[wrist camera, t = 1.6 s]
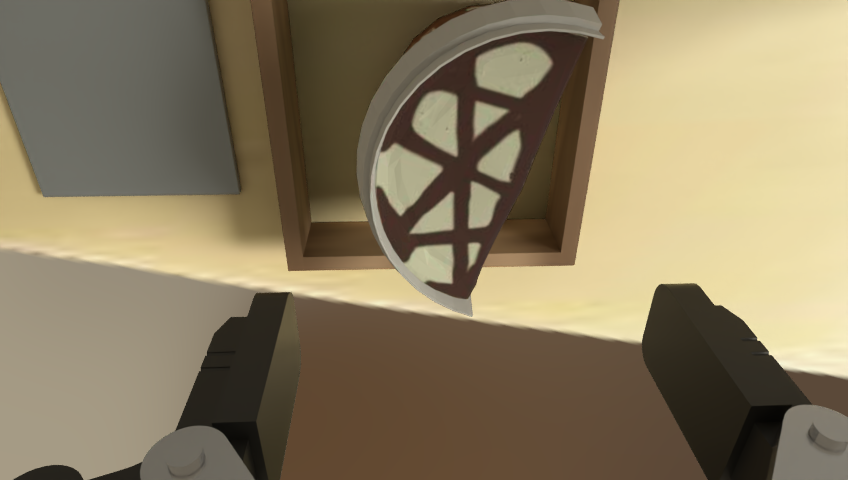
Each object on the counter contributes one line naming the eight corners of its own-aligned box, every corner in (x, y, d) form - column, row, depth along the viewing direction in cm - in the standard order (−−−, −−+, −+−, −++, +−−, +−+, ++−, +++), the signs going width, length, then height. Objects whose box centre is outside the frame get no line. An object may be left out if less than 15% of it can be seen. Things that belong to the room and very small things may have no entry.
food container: (409, -74, 24) (418, -54, 16) (540, -24, 26) (613, 19, 17) (338, 178, 30) (316, 291, 22) (447, 209, 32) (467, 327, 23)
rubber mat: (191, -93, 24) (188, -93, 23) (241, 190, 30) (239, 194, 30) (-60, -95, 23) (-66, -94, 23) (47, 193, 30) (43, 197, 30)
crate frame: (608, -113, 24) (638, -113, 21) (557, 231, 33) (574, 265, 30) (254, -115, 23) (234, -116, 20) (298, 235, 32) (288, 270, 29)
